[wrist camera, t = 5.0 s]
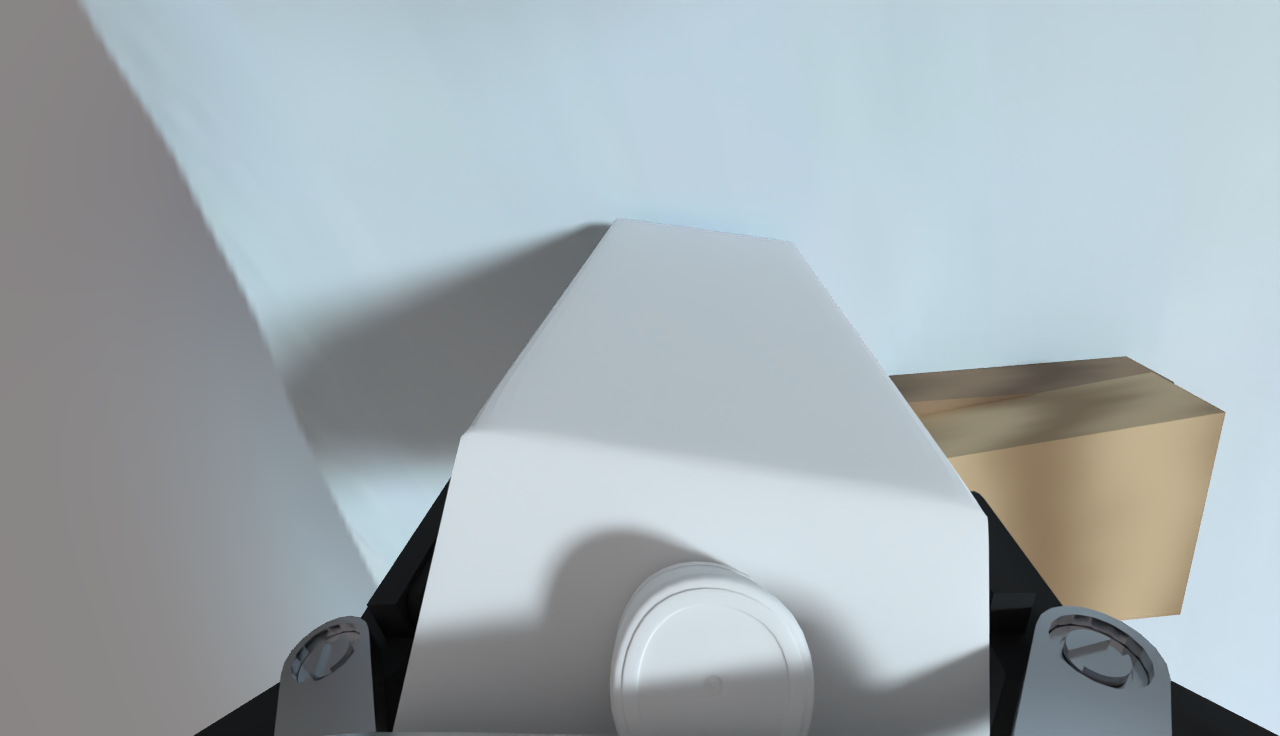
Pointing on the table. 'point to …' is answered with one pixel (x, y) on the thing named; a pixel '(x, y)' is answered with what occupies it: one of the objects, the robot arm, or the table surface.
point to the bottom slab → (1006, 382)
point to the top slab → (1094, 485)
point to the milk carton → (701, 520)
